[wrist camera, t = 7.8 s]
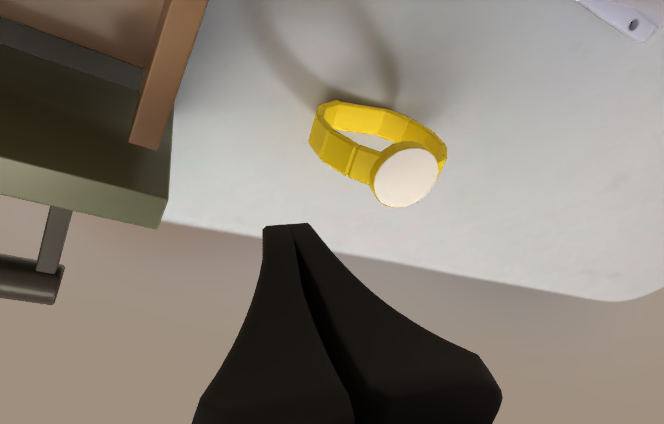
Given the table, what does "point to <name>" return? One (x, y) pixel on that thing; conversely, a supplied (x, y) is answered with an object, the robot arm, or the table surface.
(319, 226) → the table surface
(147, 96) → the drawer
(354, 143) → the watch
